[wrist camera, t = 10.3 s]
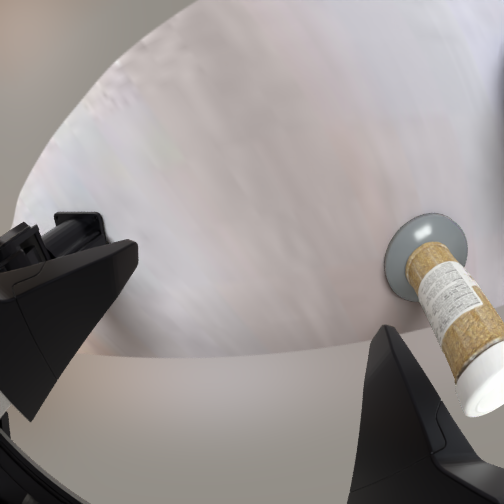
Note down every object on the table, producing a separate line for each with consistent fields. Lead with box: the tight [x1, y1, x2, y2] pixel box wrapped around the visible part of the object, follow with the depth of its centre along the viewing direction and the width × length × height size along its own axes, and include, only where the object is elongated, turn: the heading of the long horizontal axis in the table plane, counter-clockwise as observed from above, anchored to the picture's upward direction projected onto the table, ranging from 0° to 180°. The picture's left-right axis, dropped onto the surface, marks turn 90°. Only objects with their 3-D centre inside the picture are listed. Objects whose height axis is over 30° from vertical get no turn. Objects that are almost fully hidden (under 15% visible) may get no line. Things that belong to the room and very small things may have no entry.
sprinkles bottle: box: [405, 242, 504, 417], centre depth 14 cm, size 5×5×13 cm
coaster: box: [384, 213, 468, 302], centre depth 20 cm, size 8×8×1 cm
